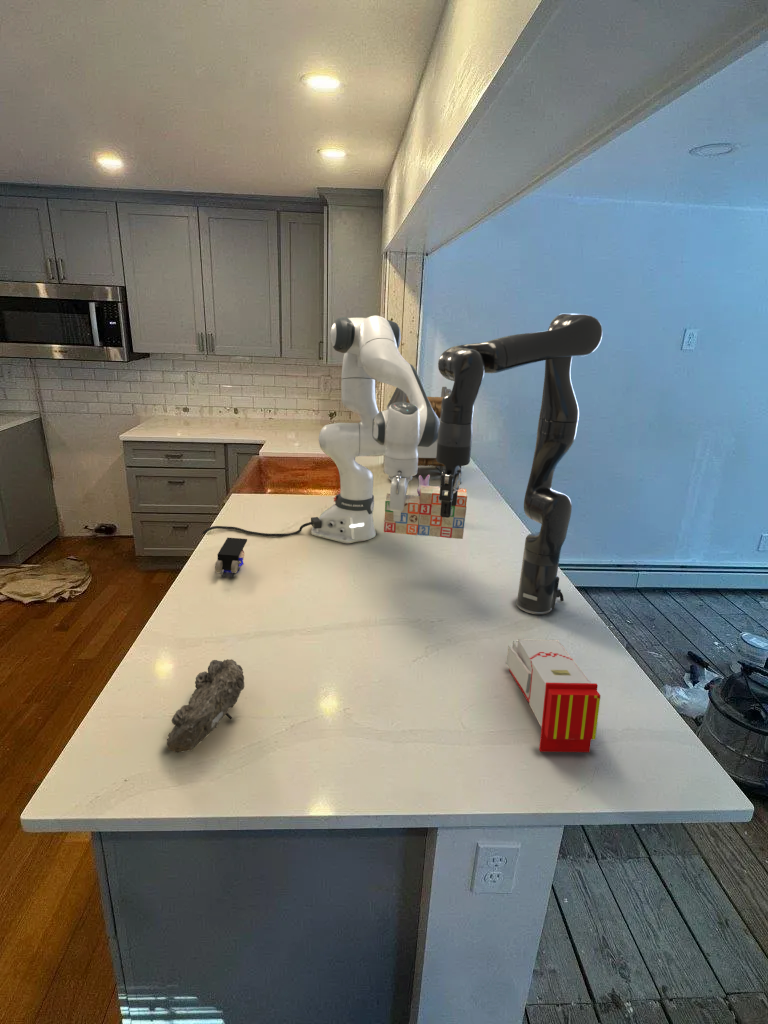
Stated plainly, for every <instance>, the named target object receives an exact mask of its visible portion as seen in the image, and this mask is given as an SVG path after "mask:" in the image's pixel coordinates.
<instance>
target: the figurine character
mask: <svg viewBox="0 0 768 1024" xmlns="http://www.w3.org/2000/svg"><path fill="white" fill-rule="evenodd" d="M247 542H248V538H240V537H226V539H225V541H224V543H223V544H222V546H221V547H220V549H219V551H218V552H217V560H216V562H215V564H214V572H215V573H221V577H222V578H224V577H225V576H226V574H227V573H230V574H231V573H232V574H231V578H234V577H235V575H236V573H237V572H239V571H240V567H242V566H243V565H244V564H245V562H244V558H245V551H244V547H245V546H246V544H247Z"/></svg>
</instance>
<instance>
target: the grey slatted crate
mask: <svg viewBox="0 0 768 1024" xmlns="http://www.w3.org/2000/svg"><path fill="white" fill-rule="evenodd" d="M451 392H452V389H451V388H447V386H442V387H441V392H440V393H441V394H440V396H427V398H428V400H429V402H430V405H431V407H432V409H433V410H434V412H435V413H436V415H437V417H438V419H439V421H440V418H441V405H442V399H443V397H444V396H445V395H446V394H448V393H451ZM396 402H407V403H410V402H409V399H408V397H407V395H406V393H405V392H404V391H402V390H401V389H399V388H397V387H395V390H394V392H393V394H392V395H391V398H390V400H389V402H388V404H387V405H386V410H388V409H389V406H390V405H391V404H393V403H396ZM437 441H438V439H437V440H436V441H435V442H434V443H433V444H432V445H431V446H429V447H420V446H418V447H417V450H418V467H436V468H437V470H438V469H439V473H440V474H441V475H442V471H444V468H445V465H443V464H440V463H438V462H437V461H436V454H437ZM383 465H384V462H383ZM391 482H392V480H390V483H391Z"/></svg>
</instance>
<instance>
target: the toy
mask: <svg viewBox="0 0 768 1024" xmlns="http://www.w3.org/2000/svg"><path fill="white" fill-rule="evenodd" d="M505 659H506V660H505V665H506V666H507V667H508V671H509V673H510V674H511V676H512V678H513V679H514V681H515V682H516V685H517V686H518V688H519V690H520V691H521V692H522V694H523V697H525V699H526V701H527V703H529V707H530V709H531V711H532V712H533V714H534V716H535V718H536V720H537V722H538V724H539V726H540V728H541V729H540V739H539V748H538V751H539V752H540V753H543V752H544V753H590V752H591V744H592V743H591V742H592V740H596V736H597V727H598V720H599V719H598V718H599V710H600V704H601V703H600V702H601V696H602V695H601V694H600V693H599V692H598V687H599V686H598V683H595V682H594V683H592V682H591V681H590V679H589V678H588V677H587V676H586V674H585V673H584V671H583V670H582V669H581V668H580V666H579V665H578V664H577V663H576V662H575V661H576V660H574V659H573V658H572V656H571V655H570V653H568V651H567V650H566V648H565V647H564V645H563V644H562V643H561V642H560V641H559V639H529V638H528V639H524V638H521V639H517V640H512V645H511V644H510V645H509V644H508V646H507V653H506V658H505Z"/></svg>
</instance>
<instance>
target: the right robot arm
mask: <svg viewBox="0 0 768 1024" xmlns="http://www.w3.org/2000/svg"><path fill="white" fill-rule="evenodd" d="M602 338H603V327H602V324H601V322H600V320H599V319H598V318H597V317H595V316H594V315H593V316H592V315H590V314H584V313H560V314H558V315H556V316H555V317H554V318H553V319H552V320H551V322H550V324H549V326H548V329H547V330H544V331H536V332H525V333H518V334H511V335H510V334H509V335H506V336H501V337H498V338H494V339H490V340H487V341H484V342H475V343H474V342H473V343H467V344H459V345H454V346H452V347H449V348H447V349H445V350H444V351H443V352H442V353H441V354H440V356H439V359H438V362H437V368H438V371H439V373H440V374H441V376H442V377H443V378H445V379H446V380H448V381H450V382H451V381H452V382H453V386H452V388H451V391H452V392H451V393H448V394H446V395H445V396H444V397H443V399H442V405H441V418H440V425H439V430H438V441H437V454H436V461H437V462H438V463H440V464H443V465H445V468H444V471H442V474H441V475H440V485H439V487H440V496H439V500H441V512H440V516H441V517H446V518H449V517H450V515H451V506H456V504H457V494H458V491H457V490H459V488H460V485H462V473H463V470H462V469H463V467H464V466H467V465H469V464H470V462H471V453H472V445H473V444H472V443H473V433H474V432H473V431H474V429H473V422H474V413H475V411H474V409H475V403H476V400H477V399H478V398H477V397H478V395H479V392H480V390H481V386H482V383H483V380H484V377H485V374H497V373H501V372H505V371H509V370H512V369H515V368H519V367H523V366H526V365H530V364H534V363H538V362H543V361H545V363H544V376H543V377H544V378H543V380H544V381H543V387H542V394H541V395H542V397H541V405H540V410H539V414H538V415H539V417H538V422H537V431H536V441H535V447H534V452H533V460H532V464H531V469H530V474H529V478H528V482H527V485H526V489H525V493H524V498H523V511H524V514H525V516H526V517H528V518H529V519H531V520H532V521H534V522H536V523H538V524H540V529H539V532H538V531H537V532H531V533H529V534H527V536H526V537H525V540H524V548H523V555H522V561H521V562H522V563H521V568H520V569H521V570H520V577H519V583H518V591H517V598H516V601H515V603H516V606H517V608H518V609H519V610H521V611H523V612H525V613H527V614H529V615H530V614H531V615H538V616H542V615H547V614H549V613H551V612H552V610H555V608H556V603H557V599H559V600H560V602H564V601H565V600H564V594H563V592H562V590H561V588H559V583H560V577H559V576H558V570H559V564H560V559H561V552H562V547H563V545H564V543H565V541H566V538H567V534H568V530H569V525H570V520H571V517H572V511H573V510H572V508H573V505H572V501H571V498H570V497H569V496H568V495H566V494H565V493H563V492H560V491H558V490H555V489H552V487H553V479H554V474H555V470H556V468H557V466H558V464H559V463H560V461H561V460H562V459H563V458H564V457H565V455H566V454H567V453H568V452H569V450H570V449H571V447H572V446H573V445H574V443H575V440H576V438H577V437H576V436H577V431H578V427H579V426H578V424H579V419H580V418H579V417H580V409H579V404H578V401H577V398H576V397H577V396H576V393H575V390H574V388H573V384H572V379H571V377H572V376H571V368H572V360H573V357H585V356H588V355H590V354H592V353H593V352H595V351H596V350H597V349H598V347H599V346H600V344H601V342H602ZM445 492H448V496H445V495H444V493H445Z"/></svg>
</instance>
